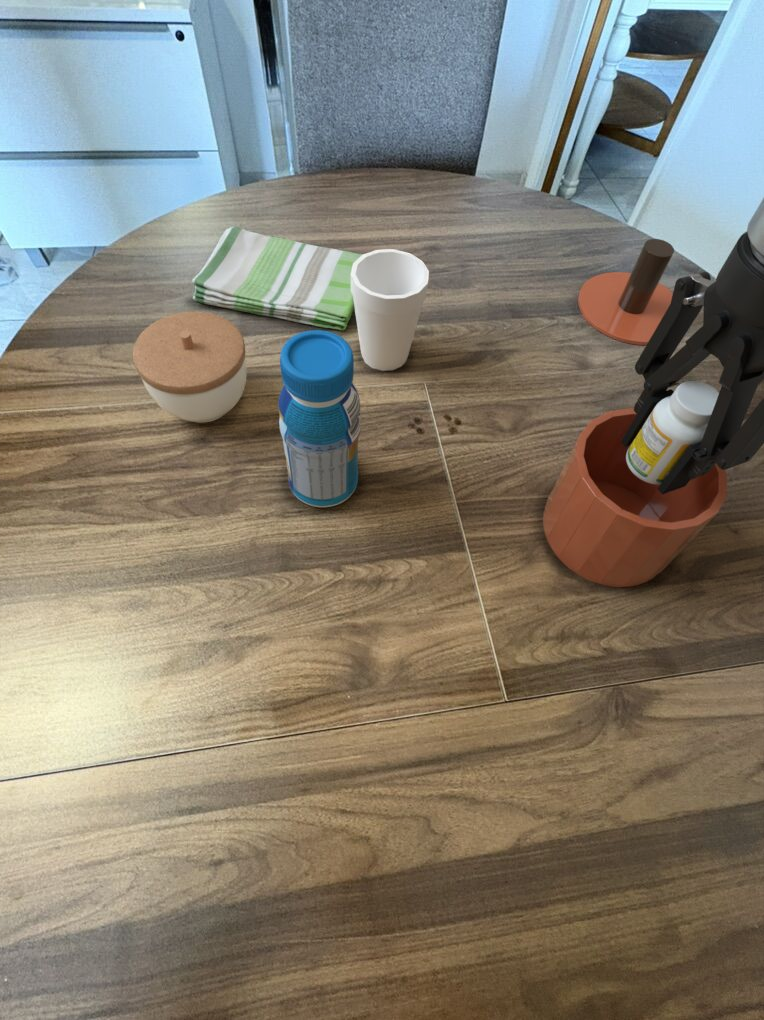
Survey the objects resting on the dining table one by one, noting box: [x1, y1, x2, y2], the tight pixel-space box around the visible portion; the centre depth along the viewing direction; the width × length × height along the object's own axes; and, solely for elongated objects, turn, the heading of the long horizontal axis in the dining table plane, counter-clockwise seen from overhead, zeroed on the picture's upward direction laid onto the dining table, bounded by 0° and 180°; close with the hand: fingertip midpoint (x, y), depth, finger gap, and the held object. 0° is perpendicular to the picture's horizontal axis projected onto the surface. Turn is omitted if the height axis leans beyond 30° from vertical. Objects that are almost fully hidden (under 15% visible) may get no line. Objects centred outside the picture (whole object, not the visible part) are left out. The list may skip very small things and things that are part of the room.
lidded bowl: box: [132, 311, 248, 424], centre depth 74 cm, size 13×13×11 cm
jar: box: [542, 407, 728, 588], centre depth 65 cm, size 15×15×12 cm
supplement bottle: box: [626, 380, 720, 485], centre depth 56 cm, size 5×5×10 cm
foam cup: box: [351, 248, 430, 372], centre depth 79 cm, size 10×9×13 cm
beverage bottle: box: [277, 329, 362, 508], centre depth 64 cm, size 8×8×20 cm
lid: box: [577, 238, 675, 346], centre depth 87 cm, size 16×16×11 cm
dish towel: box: [191, 225, 363, 331], centre depth 90 cm, size 17×23×4 cm
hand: (652, 463), depth 60 cm, fingers closed on supplement bottle, 5 cm apart
